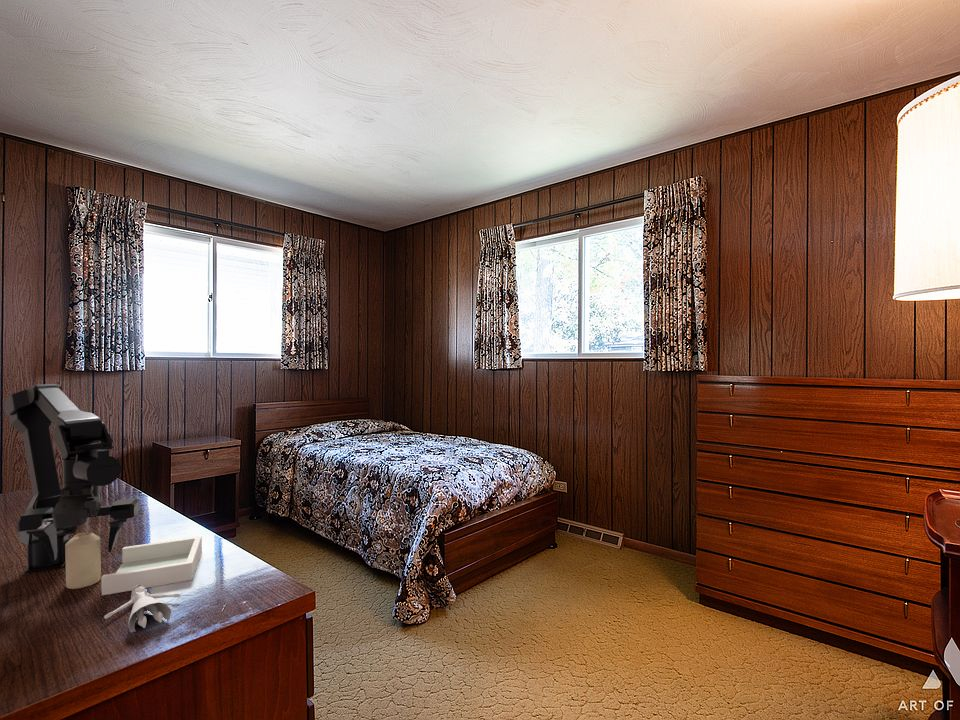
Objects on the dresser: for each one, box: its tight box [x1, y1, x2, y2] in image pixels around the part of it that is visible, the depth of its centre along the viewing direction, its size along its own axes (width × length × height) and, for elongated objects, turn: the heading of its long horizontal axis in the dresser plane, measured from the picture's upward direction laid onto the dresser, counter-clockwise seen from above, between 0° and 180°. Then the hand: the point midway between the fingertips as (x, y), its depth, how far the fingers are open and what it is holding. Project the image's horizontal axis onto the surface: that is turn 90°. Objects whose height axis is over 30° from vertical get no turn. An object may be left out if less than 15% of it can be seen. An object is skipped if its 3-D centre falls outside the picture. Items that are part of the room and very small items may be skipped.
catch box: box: [100, 535, 203, 596], centre depth 105 cm, size 15×16×4 cm
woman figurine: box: [103, 585, 182, 634], centre depth 87 cm, size 12×4×18 cm
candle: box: [65, 531, 102, 590], centre depth 100 cm, size 6×6×10 cm
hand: (82, 555), depth 100 cm, fingers open, 9 cm apart
